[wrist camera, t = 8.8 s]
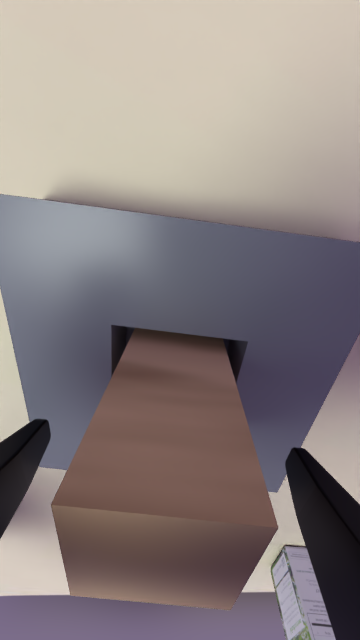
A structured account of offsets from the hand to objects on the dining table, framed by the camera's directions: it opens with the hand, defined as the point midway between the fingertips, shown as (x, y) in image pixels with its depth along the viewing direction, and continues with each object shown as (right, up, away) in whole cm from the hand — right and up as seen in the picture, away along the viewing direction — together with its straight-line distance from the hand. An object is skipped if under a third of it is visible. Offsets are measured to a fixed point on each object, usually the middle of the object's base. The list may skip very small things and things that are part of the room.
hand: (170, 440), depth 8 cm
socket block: (0, +3, +6) cm, 7 cm away
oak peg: (0, +2, +5) cm, 6 cm away
